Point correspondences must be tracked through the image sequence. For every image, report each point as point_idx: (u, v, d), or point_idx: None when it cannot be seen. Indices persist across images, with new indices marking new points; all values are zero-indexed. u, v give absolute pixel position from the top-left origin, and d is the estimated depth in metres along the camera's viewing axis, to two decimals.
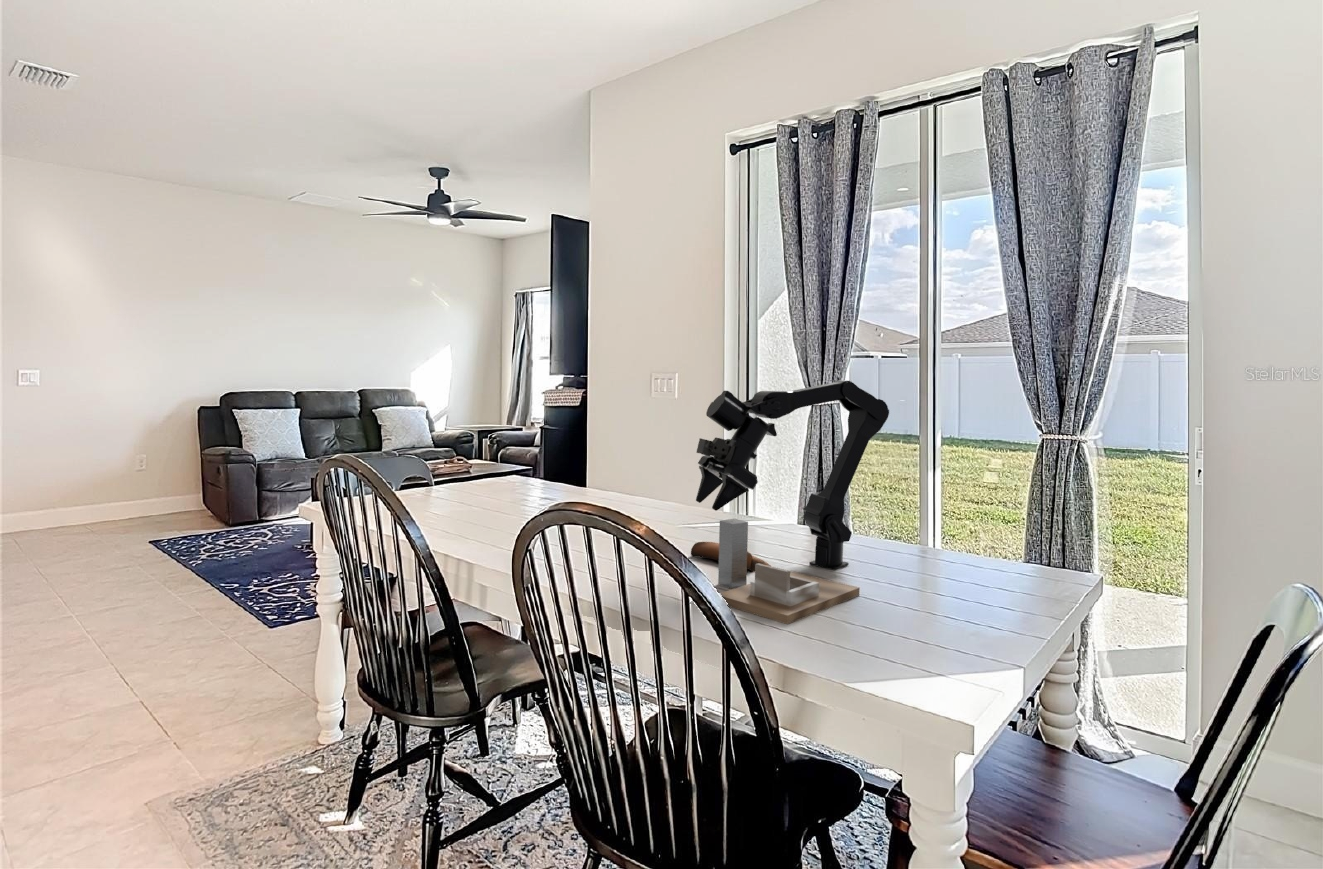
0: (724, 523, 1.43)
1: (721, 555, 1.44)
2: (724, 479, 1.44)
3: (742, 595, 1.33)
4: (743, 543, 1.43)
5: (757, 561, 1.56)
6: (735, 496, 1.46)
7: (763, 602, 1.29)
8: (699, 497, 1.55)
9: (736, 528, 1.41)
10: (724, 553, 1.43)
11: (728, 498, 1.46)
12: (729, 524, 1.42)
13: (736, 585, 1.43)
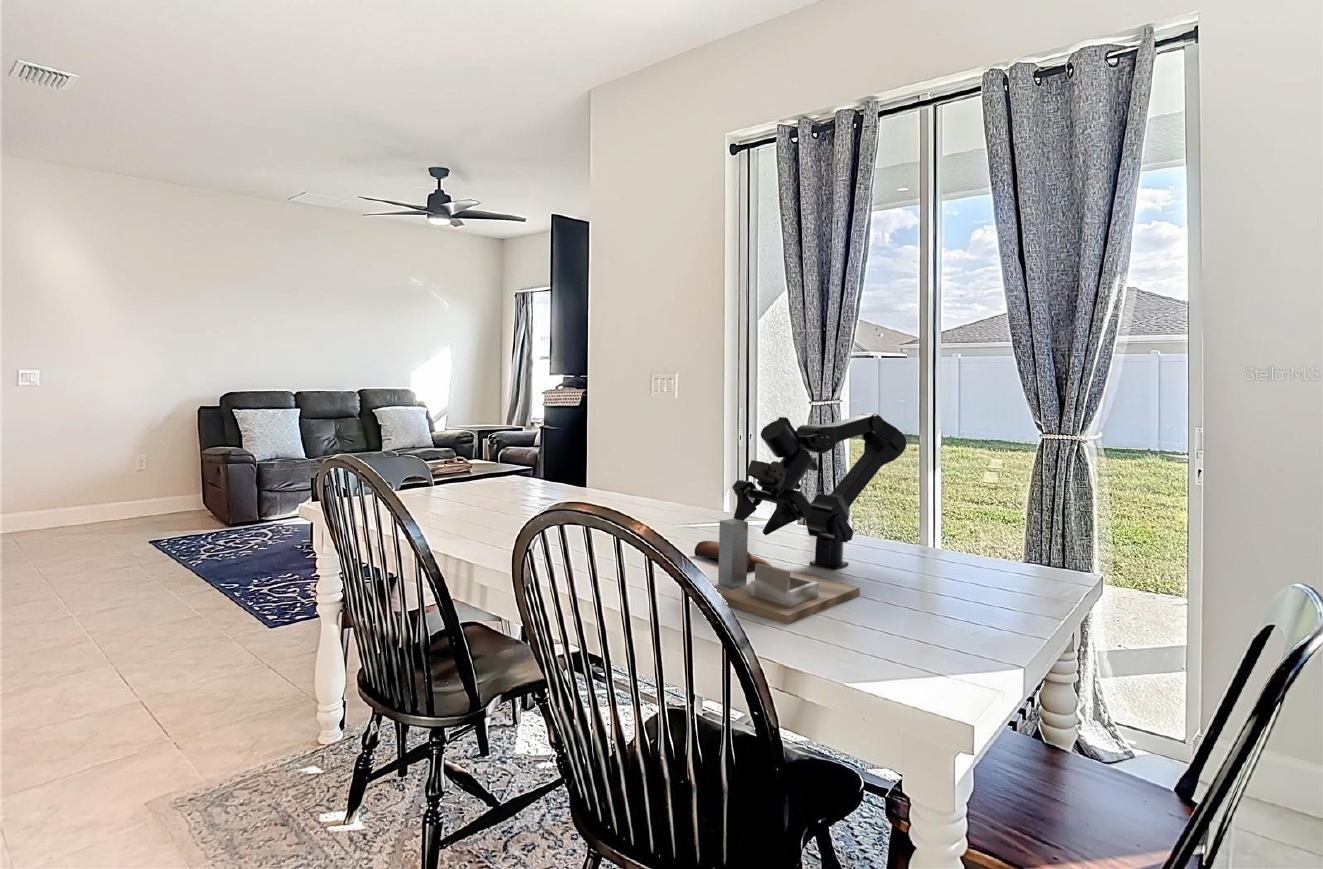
0: (724, 523, 1.43)
1: (721, 555, 1.44)
2: (781, 504, 1.42)
3: (742, 595, 1.33)
4: (743, 543, 1.43)
5: (756, 561, 1.56)
6: (786, 523, 1.43)
7: (763, 602, 1.29)
8: None
9: (736, 528, 1.41)
10: (724, 553, 1.43)
11: (779, 524, 1.43)
12: (729, 524, 1.42)
13: (736, 585, 1.43)
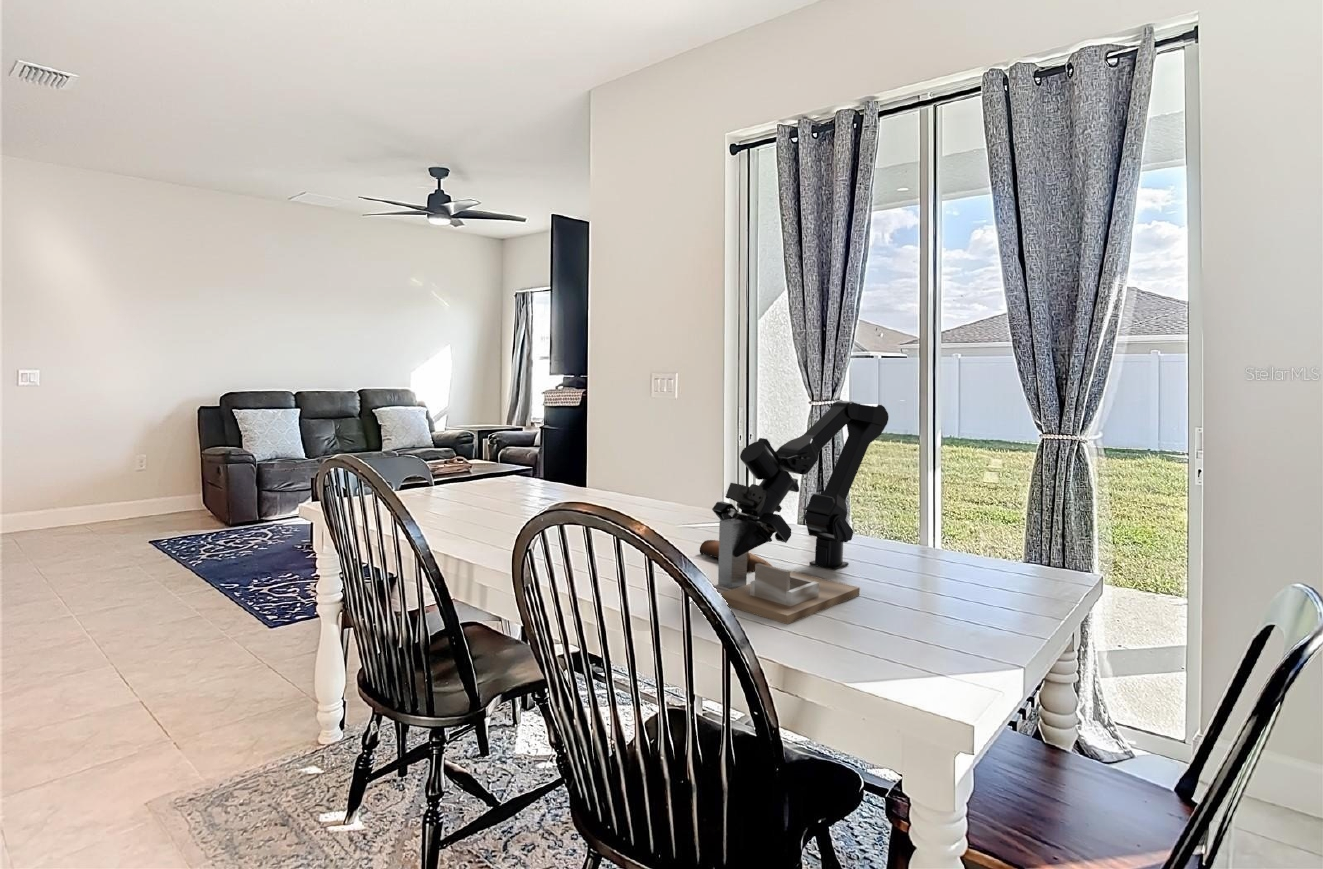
0: (724, 523, 1.43)
1: (721, 555, 1.44)
2: (752, 526, 1.41)
3: (742, 595, 1.33)
4: None
5: (756, 561, 1.56)
6: (757, 545, 1.43)
7: (763, 602, 1.29)
8: None
9: (736, 528, 1.41)
10: (724, 553, 1.43)
11: (750, 546, 1.42)
12: (729, 524, 1.42)
13: (736, 585, 1.43)
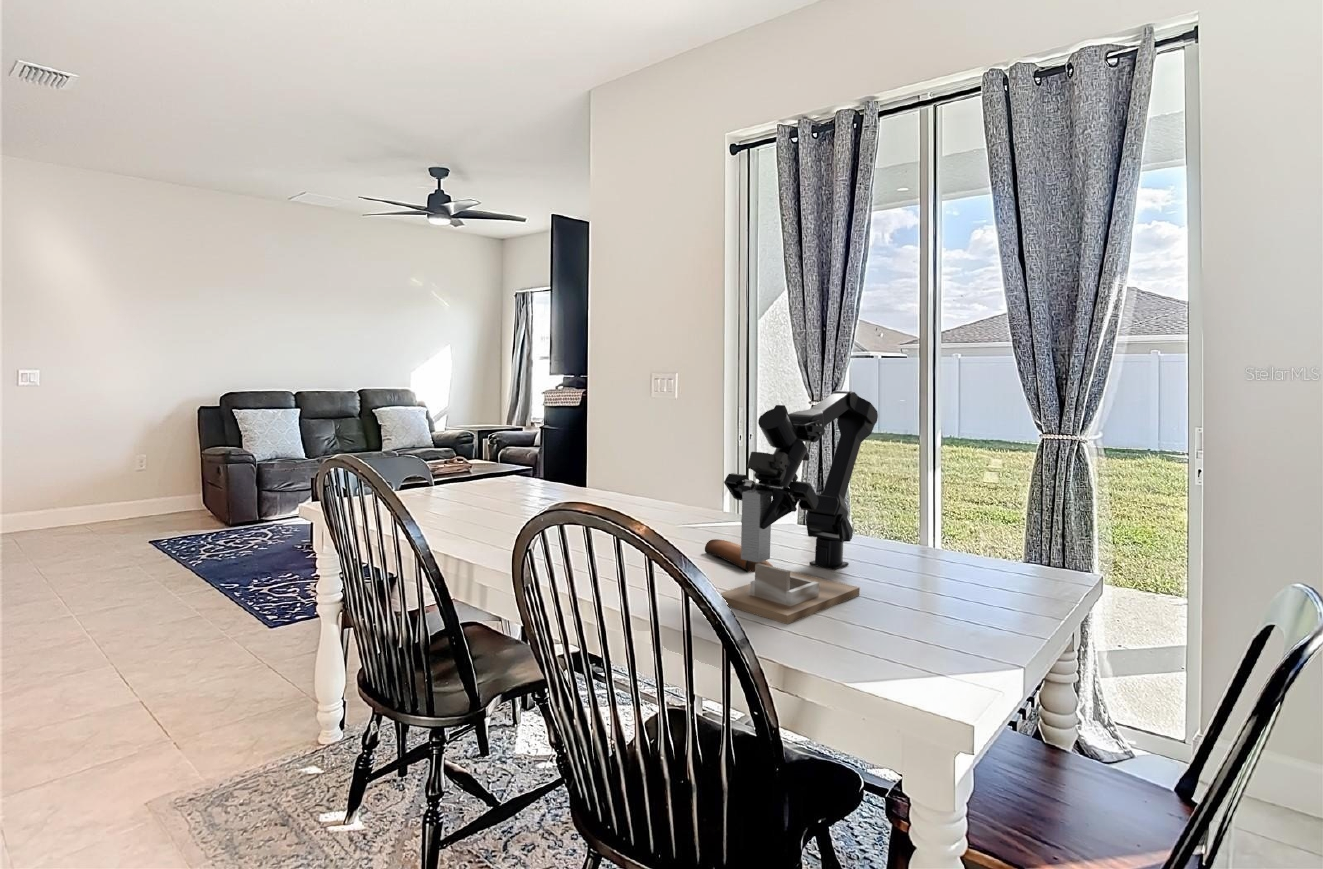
0: (748, 494, 1.36)
1: (745, 528, 1.36)
2: (779, 496, 1.35)
3: (742, 595, 1.33)
4: None
5: None
6: (782, 515, 1.37)
7: (763, 602, 1.29)
8: None
9: (763, 499, 1.35)
10: (749, 526, 1.36)
11: (776, 517, 1.36)
12: (755, 495, 1.34)
13: (762, 558, 1.36)
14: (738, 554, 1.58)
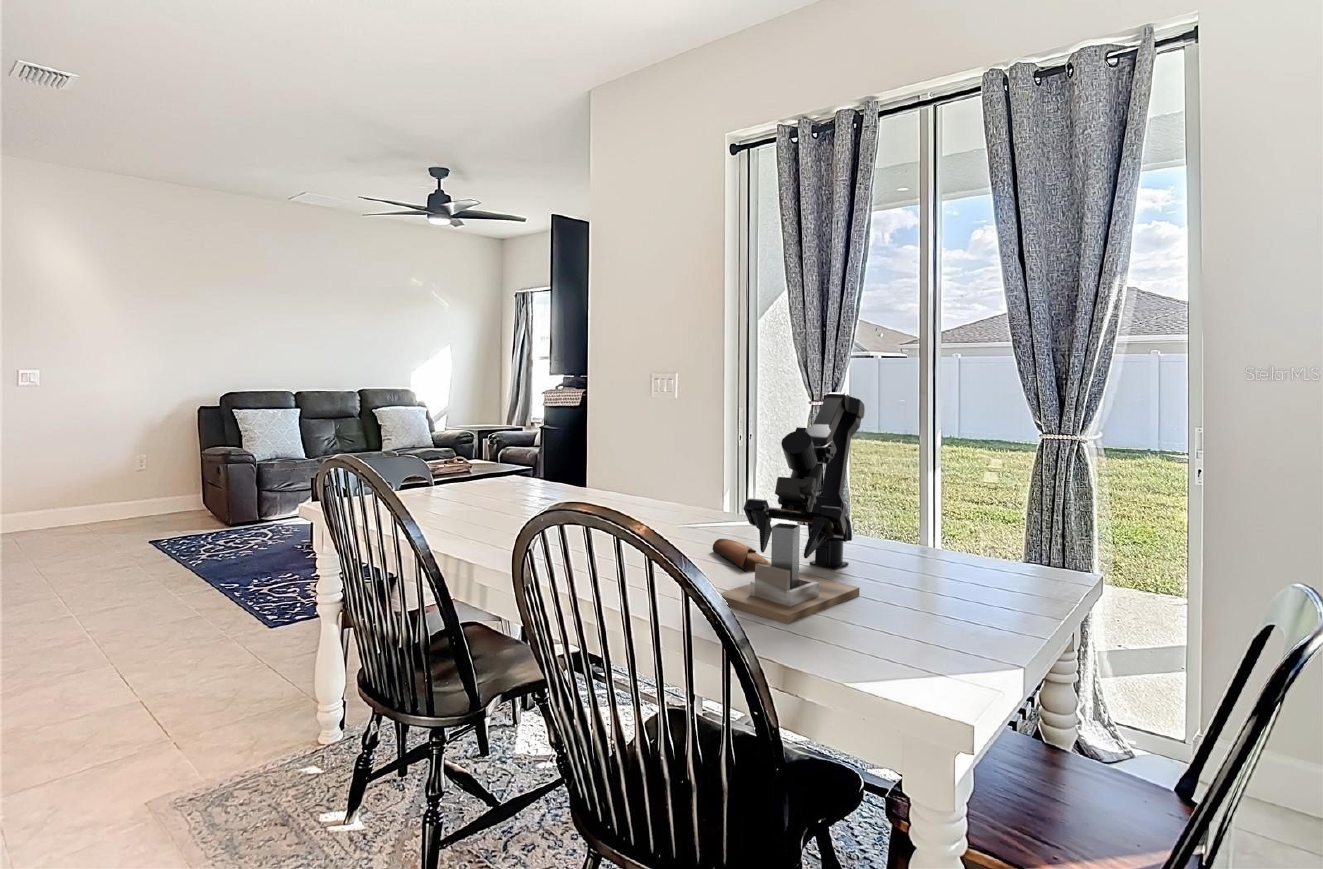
0: (779, 529, 1.31)
1: (776, 564, 1.31)
2: (820, 523, 1.30)
3: (742, 595, 1.33)
4: (797, 548, 1.32)
5: (754, 561, 1.56)
6: (820, 542, 1.32)
7: (763, 602, 1.29)
8: (764, 546, 1.34)
9: (794, 534, 1.30)
10: (781, 562, 1.31)
11: (816, 545, 1.31)
12: (787, 529, 1.30)
13: None
14: (738, 554, 1.58)
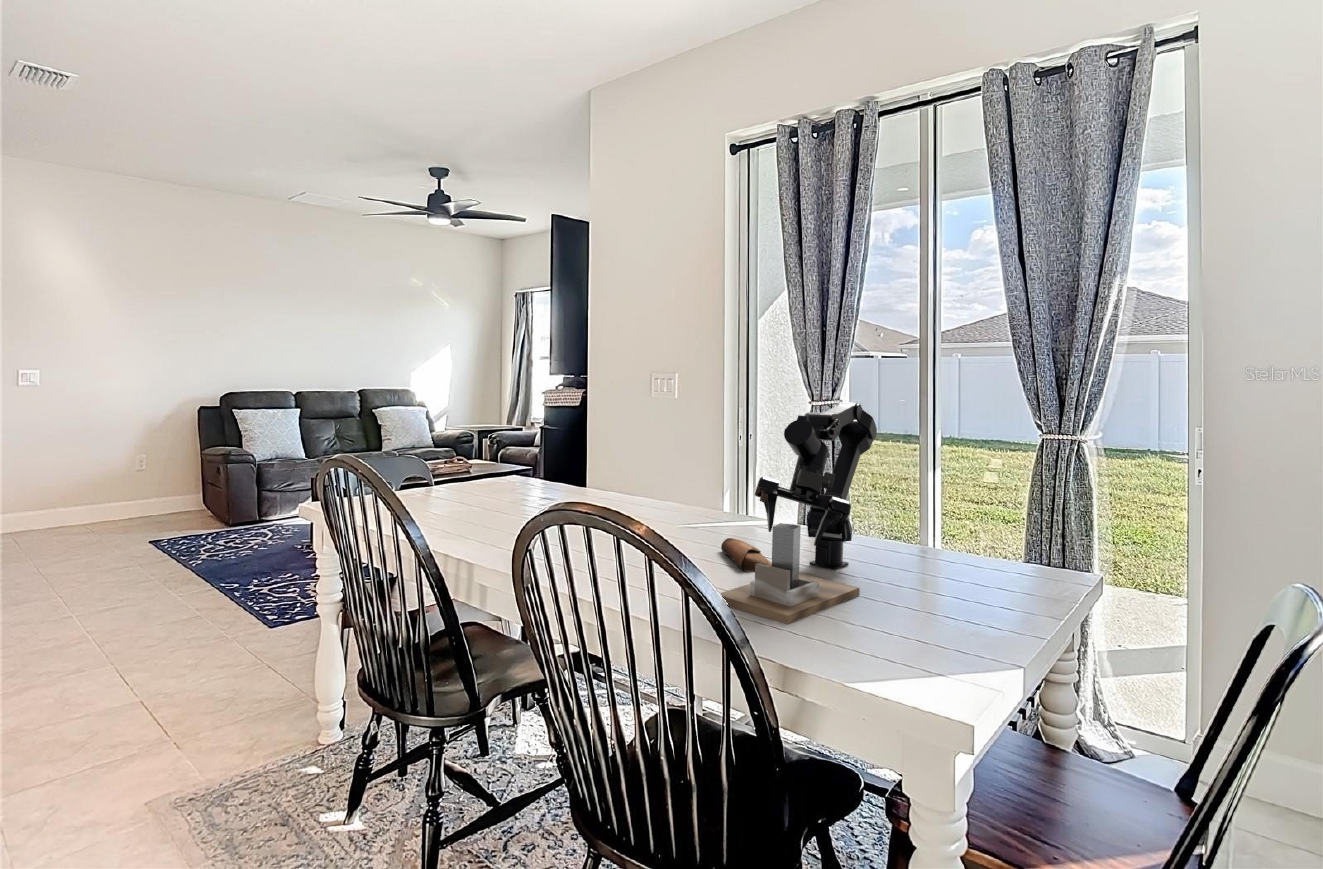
0: (780, 529, 1.31)
1: (776, 564, 1.31)
2: (833, 516, 1.41)
3: (742, 595, 1.33)
4: (798, 549, 1.32)
5: (753, 562, 1.55)
6: None
7: (763, 602, 1.29)
8: None
9: (795, 534, 1.30)
10: (781, 562, 1.31)
11: None
12: (788, 530, 1.30)
13: None
14: (739, 554, 1.58)
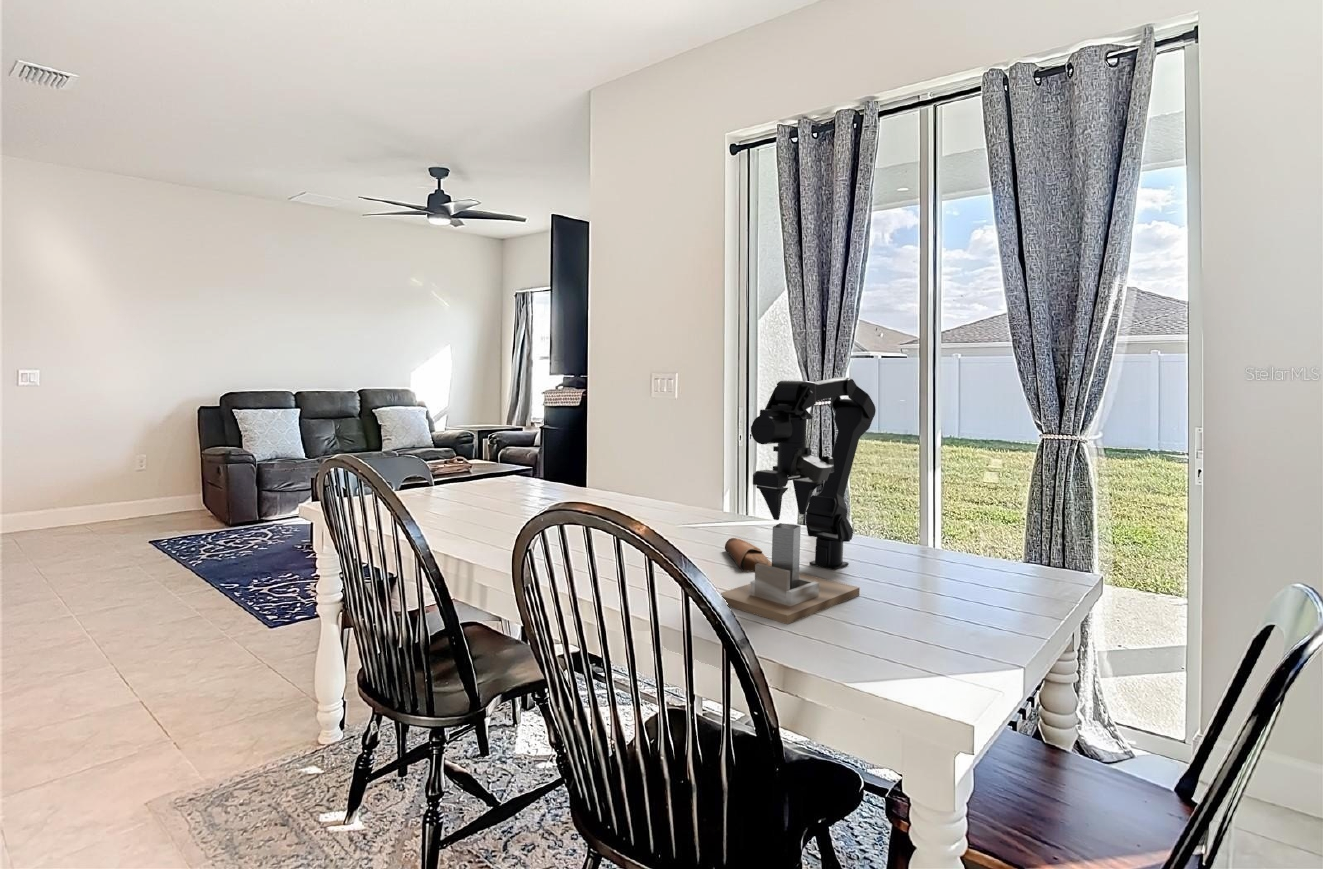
0: (780, 529, 1.31)
1: (776, 564, 1.31)
2: (817, 486, 1.51)
3: (742, 595, 1.33)
4: (798, 549, 1.32)
5: (752, 561, 1.55)
6: None
7: (763, 602, 1.29)
8: None
9: (795, 534, 1.30)
10: (781, 562, 1.31)
11: None
12: (788, 530, 1.30)
13: None
14: (739, 553, 1.59)
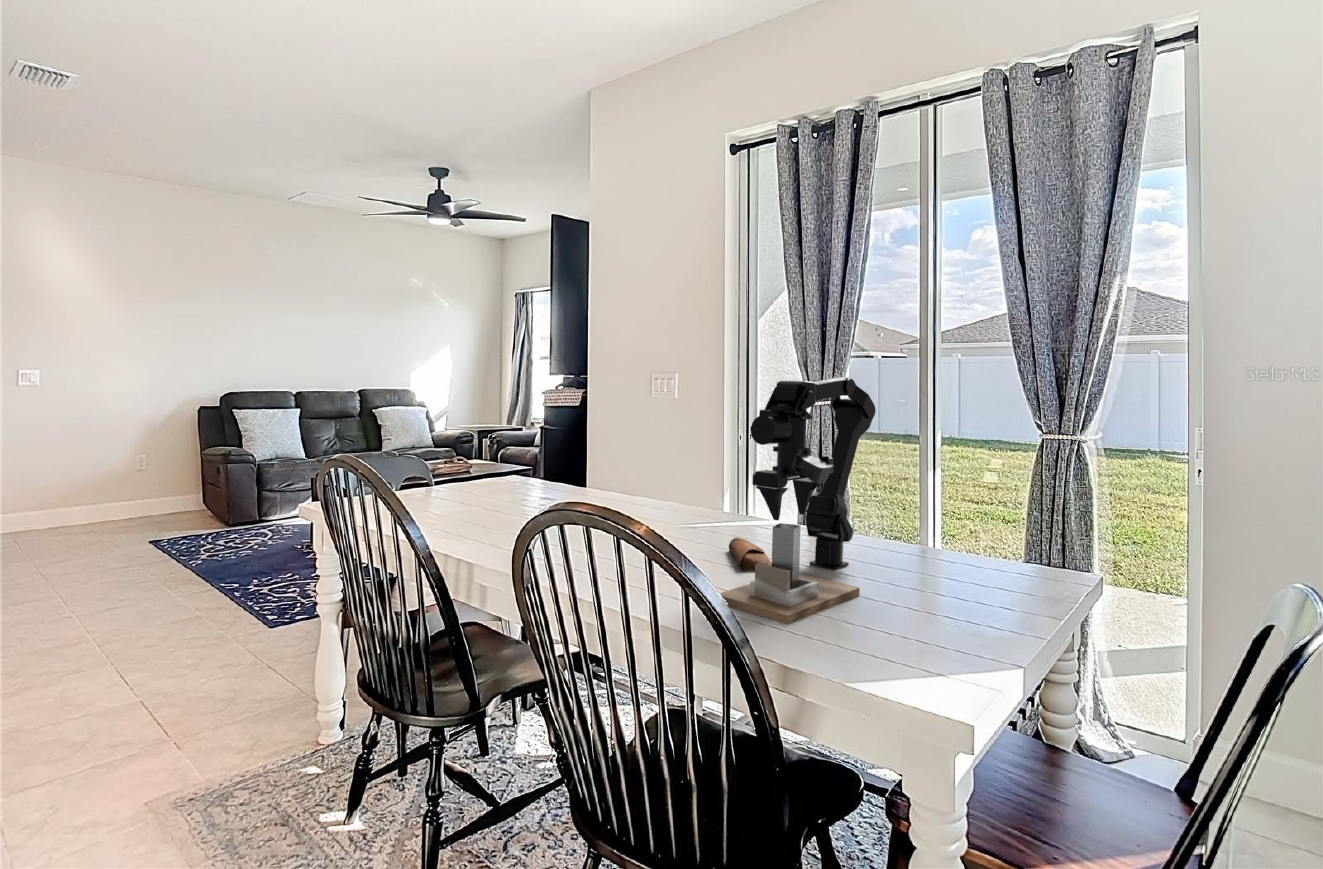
0: (780, 529, 1.31)
1: (776, 564, 1.31)
2: (817, 486, 1.51)
3: (742, 595, 1.33)
4: (798, 549, 1.32)
5: (752, 562, 1.55)
6: None
7: (763, 602, 1.29)
8: None
9: (795, 534, 1.30)
10: (781, 562, 1.31)
11: None
12: (788, 530, 1.30)
13: None
14: (739, 553, 1.59)
